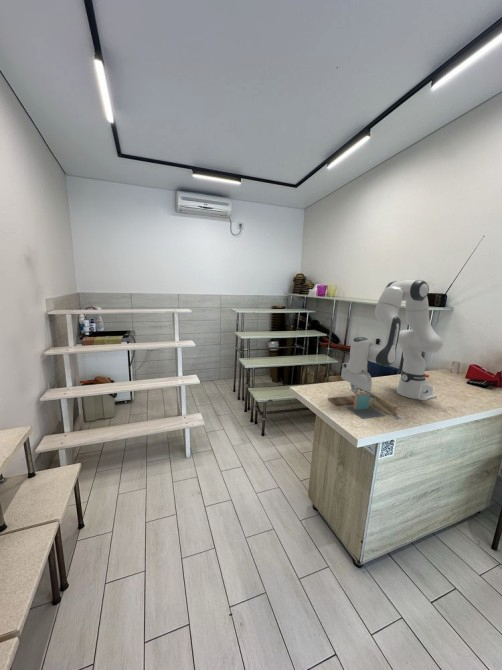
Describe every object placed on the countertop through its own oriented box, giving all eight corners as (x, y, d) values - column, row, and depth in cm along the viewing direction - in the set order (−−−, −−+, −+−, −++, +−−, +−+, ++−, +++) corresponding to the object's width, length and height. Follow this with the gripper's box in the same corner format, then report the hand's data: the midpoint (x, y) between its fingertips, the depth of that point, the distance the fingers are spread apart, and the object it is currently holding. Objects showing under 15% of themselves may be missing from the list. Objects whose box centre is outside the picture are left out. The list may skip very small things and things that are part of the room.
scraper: (379, 405, 139) (381, 396, 138) (404, 419, 124) (406, 409, 123) (372, 405, 138) (373, 397, 137) (396, 420, 122) (398, 410, 122)
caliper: (351, 389, 160) (352, 380, 159) (352, 389, 161) (353, 380, 160) (382, 402, 143) (384, 391, 142) (384, 402, 144) (385, 391, 143)
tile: (366, 407, 134) (368, 392, 133) (368, 408, 133) (370, 394, 131) (353, 408, 132) (355, 394, 131) (355, 410, 130) (357, 395, 129)
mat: (368, 406, 137) (368, 405, 137) (385, 416, 126) (385, 416, 125) (346, 408, 133) (346, 407, 133) (362, 419, 122) (362, 418, 122)
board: (357, 397, 148) (358, 395, 148) (367, 403, 140) (367, 401, 140) (327, 400, 142) (327, 398, 142) (336, 406, 135) (336, 404, 134)
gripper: (376, 373, 126) (373, 400, 128) (350, 362, 145) (347, 385, 148) (365, 374, 124) (362, 401, 127) (340, 362, 144) (337, 386, 146)
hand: (354, 392), depth 137 cm, fingers closed
